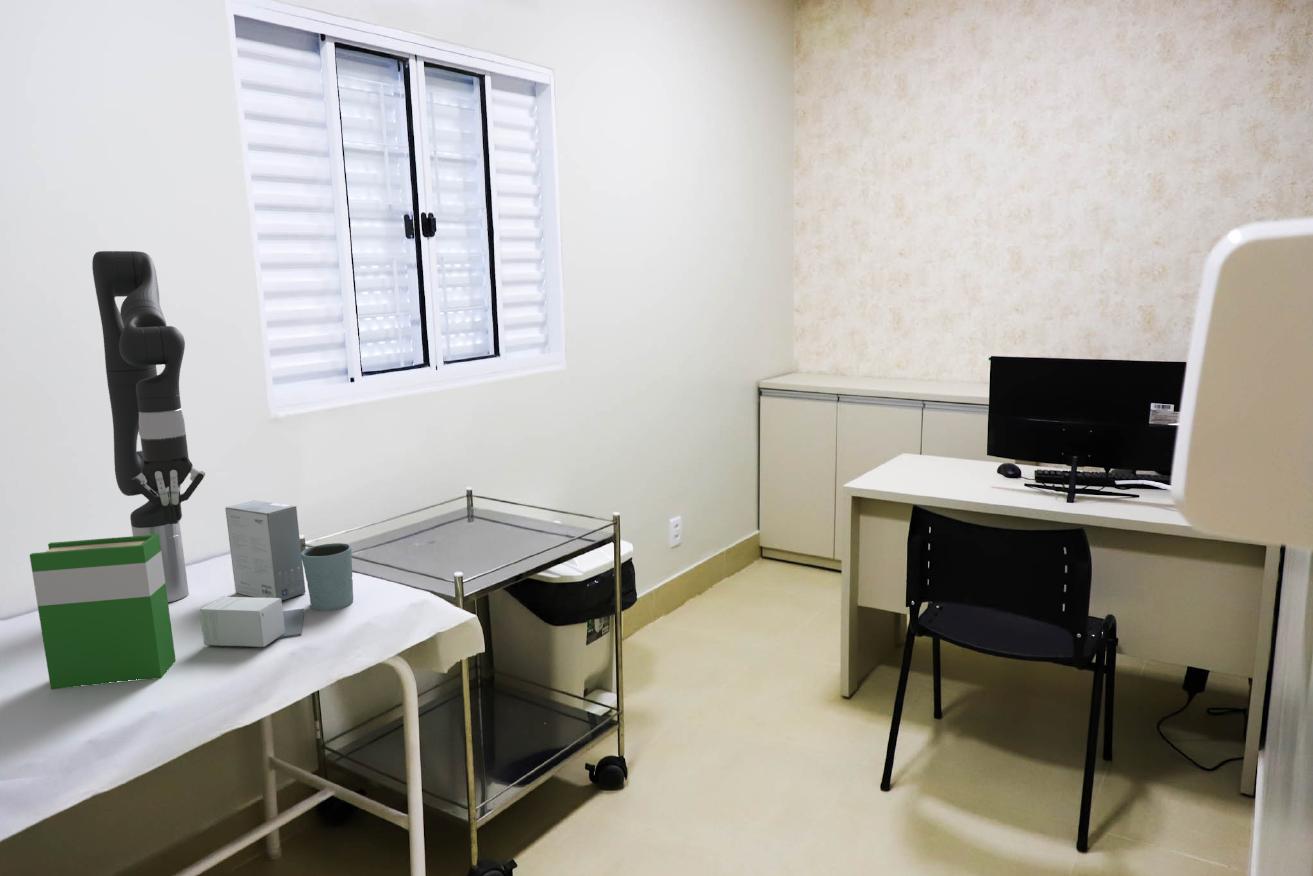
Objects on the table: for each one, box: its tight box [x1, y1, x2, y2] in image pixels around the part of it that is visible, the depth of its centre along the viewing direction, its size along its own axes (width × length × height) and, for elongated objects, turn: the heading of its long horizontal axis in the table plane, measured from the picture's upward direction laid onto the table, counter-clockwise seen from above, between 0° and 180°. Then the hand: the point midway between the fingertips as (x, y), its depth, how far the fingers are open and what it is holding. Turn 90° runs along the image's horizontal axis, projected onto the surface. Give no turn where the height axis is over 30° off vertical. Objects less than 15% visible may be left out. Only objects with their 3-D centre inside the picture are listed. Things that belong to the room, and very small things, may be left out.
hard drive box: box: [225, 500, 307, 601], centre depth 200 cm, size 16×8×20 cm, turn 58°
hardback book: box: [29, 534, 177, 690], centre depth 158 cm, size 18×7×24 cm, turn 100°
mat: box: [278, 607, 305, 639], centre depth 181 cm, size 15×14×1 cm
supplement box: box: [199, 596, 285, 648], centre depth 173 cm, size 7×7×13 cm
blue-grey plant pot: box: [301, 542, 354, 611], centre depth 192 cm, size 10×10×12 cm
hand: (173, 522), depth 173 cm, fingers closed
